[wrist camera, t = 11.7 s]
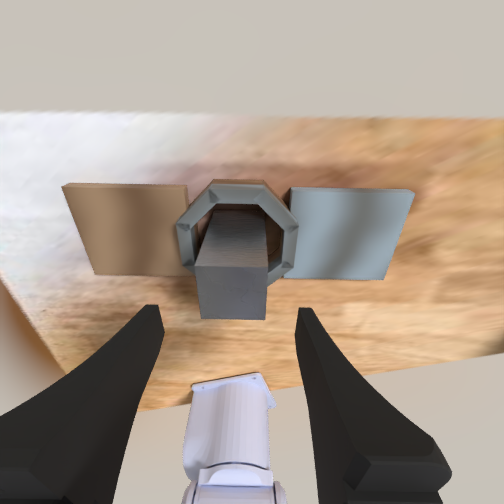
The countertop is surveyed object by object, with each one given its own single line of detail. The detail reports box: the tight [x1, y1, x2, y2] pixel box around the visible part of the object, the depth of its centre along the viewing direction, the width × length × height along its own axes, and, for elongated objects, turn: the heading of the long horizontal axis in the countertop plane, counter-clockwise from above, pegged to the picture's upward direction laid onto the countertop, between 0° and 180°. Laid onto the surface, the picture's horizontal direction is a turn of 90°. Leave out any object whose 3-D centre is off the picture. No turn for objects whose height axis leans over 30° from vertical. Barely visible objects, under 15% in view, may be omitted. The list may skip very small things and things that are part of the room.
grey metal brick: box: [194, 210, 268, 320], centre depth 18 cm, size 4×4×8 cm
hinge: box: [62, 179, 415, 287], centre depth 20 cm, size 26×9×2 cm, turn 89°
